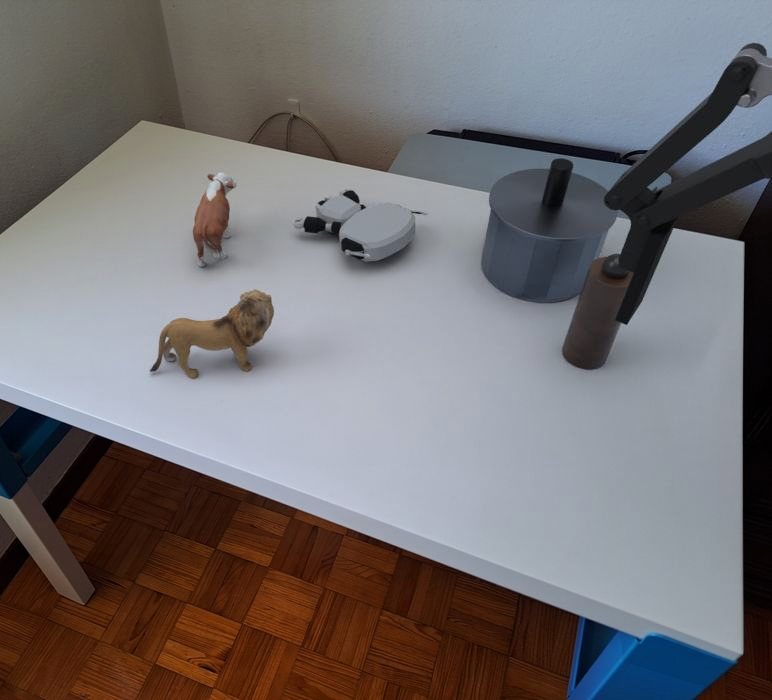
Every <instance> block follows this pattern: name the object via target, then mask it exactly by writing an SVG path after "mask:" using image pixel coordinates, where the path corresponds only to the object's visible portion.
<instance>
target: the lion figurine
mask: <svg viewBox="0 0 772 700" xmlns="http://www.w3.org/2000/svg"><path fill="white" fill-rule="evenodd" d="M239 298H240V300H239V301H238V302H237V304H235V305H233V307H231V308H229V310H228V313H227V314H226V315H224V316H222V317H221V318H216V319H207V320H195V319H191V318H188V317H187V318H186V317H179V318H176V319H173V320H171V321H170V322H169V323H168V324H166V325H165V326H164V327H163V329H162V330H161V332H160V335H159V339H158V351H157V352H158V355H157V358H156V361H155V362H154V364H153V365H152V367H151V368H150V369H149V373H152V372H157V371H158V370H159V369H160V366H161V364H162V361H163V358H164V360H166V361H167V362H173V361H175V360H176V359H177V357H178V362H177V365H178V366H179V367H180V368H181V369H182V371H184V373H185V375H186V376H187V377H188V378H190V379H195V378H197V377H198V376H199V370H198V369H197V368H193V367H190V366H189V364H188V361H189V357H190V354H191V347H192V346H194V347H197V348H200V349H202V350H206V351H212V352H213V351H214V352H218V351H224V350H228V349H231V351H232V353H233V354H234V355H235V358H236V360H237V364H238V366H239V368H240V369H241V370H242V371H245V372H249V371H251V370H252V368H253V365H252V362H250V361H248V360H247V359H248V358H247V357H248V348H251V347H253V346H255V345H256V344H257V343H259V342H260V341H262V340H263V339H264V336H265V334H266V332H267V330H268V329H269V328H270V327H271V325H272V321H273V318H274V316H275V309H274V308H275V307H274V305H273V302H272V296H271V294H267V293H266V292H262V291H260V290H258V289H253V290H250V291H245V292H243V293H241V294H240V295H239ZM167 338H168V339H167ZM166 340H167V341H166ZM172 349H173V350H174V352H171V351H172ZM175 353H176V354H175Z"/></svg>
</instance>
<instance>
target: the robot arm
mask: <svg viewBox="0 0 772 700" xmlns="http://www.w3.org/2000/svg"><path fill="white" fill-rule="evenodd" d="M769 96H772V57H769V56H768V51H767V49H766V47H765V46H764V45H762V44H761V43H760V42H759V43H758V42H750V43H747V44H745V45H744V46H742V47H741V49H740V50H739V51H738V52H737V53H736V54H735V56H734V57H733V58H732V60H731V61H730V62H729V64H728V65H727V66H726V68H725V69H724V70H723V72H722V74H721V76H720V77H719V80H718V81H717V83H716V84H715V87H714V89H713V90H712V92H711V93H710V94H709V95H707V96H706V97H705V98H704V99H703V100H702V101H701V102H700V103H699V104H698V105H697V106H695V108H693V110H691V111H690V112H689V113H688V114H687V115H686V116H685V117H684V118H682V119H681V120H680V121H679V122H678V123H677V124H676V125H675V126H674V127H672V128H671V129H670V130H669V131H668V132H667V133H666V134H664V136H663V137H661V138H660V139H659V140H658V141H657V142H656V143H655V144H654V145H653V146H652V147H651V148H649V150H647V151H646V152H645V153H644V154H642V156H641V157H640V158H639V159H637V160H636V161H635V162H634V163H633V164H632V165H631V166H630V167H629V168H628V169H626V171H624V172H623V173H622V174H621V175H620V176H619V178H617V180H616V181H615V182H614V184H613V185H612V186H611V187H610V188H609V190H607V191H608V192H607V194H606V195H605V197H604V203H605V205H606V206H607V207H608V208H609V209H611V210H618V211H620V212H622V213H623V214H625V215H626V216H627V217H628V219H629V221H630V228H629V230H628V232H627V236H626V238H625V241H624V242H623V246H622V249H621V251H620V253H619V254H620V257H619V259H618V261H619V267H620V268H622V269H625V270H628V271H630V272H633V273H634V274H633V276H632V279H631V281H630V284H629V286H628V289H627V291H626V294H625V296H624V299H623V301H622V304H621V306H620V309H619V311H618V314H617V316H616V319H615V321H618V322H620V323H621V324H623V325H626V326H628V324H629V323H630V321H631V320H632V318H633V316H634V315H635V313H636V312H637V310H638V309H639V307H640V305H641V304H642V303H643V300H644V298H645V296H646V294H647V291H648V289H649V286H650V284H651V281H652V279H653V277H654V274H655V272H656V270H657V268H658V265H659V264H660V260H661V258H662V257H663V253H664V252H665V249H666V247H667V244H668V242H669V239H670V237H671V235H672V233H673V231H674V228H675V225H676V224H677V221H678V218H679V217H681V216H683V215H686V214H688V213H691V212H692V211H695V210H697V209H699V208H702V207H703V206H706V205H708V204H710V203H712V202H715V201H717V200H719V199H721V198H724V197H726V196H728V195H730V194H733V193H734V192H737V191H739V190H742V189H744V188H746V187H749V186H750V185H753V184H756V183H758V182H759V181H762V180H771V179H772V130H771V131H770V132H769V133H768V134H766V135H765V136H763V137H762V138H759V139H757V140H756V141H753V142H751V143H749V144H747V145H745V146H743V147H741V148H739V149H737V150H735V151H733V152H731V153H729V154H726V155H725V156H723V157H721V158H719V159H716V160H715V161H712V162H711V163H709V164H707V165H706V166H703V167H701V168H698V169H697V170H694V171H693V172H691V173H688V174H687V175H684V176H683V177H680V178H679V179H676V180H675V181H673V182H670V183H668V184H667V185H666V184H665V185H664V186H662V187H660V188H659V189H658V186H656V187H654V188H653V189H650V188H649V187H650V186H651V185H652V184H653V183H654V182H655V181H656V180H658V179H659V178H660V177H661V176H662V175H663V174H665V173H666V172H667V171H668V170H669V169H671V167H673V166H674V165H675V164H677V162H679V161H680V160H681V159H683V157H685V156H686V155H687V154H688V153H689V152H690V151H691V150H693V149H694V148H695V147H696V146H697V145H699V144H700V143H701V142H702V141H703V140H704V139H706V138H707V137H708V136H709V135H710V134H711V133H713V132H714V131H715V130H716V129H717V128H718V127H719V126H721V125H722V124H723V123H724V122H725V121H726V119H727V118H728V117H730V115H731V113H733V111H734V110H735V108H736V107H740V108H744V109H750V108H753V107H755V106H758V104H759V103H761V102H762V101H763V100H764V99H765V98H767V97H769Z"/></svg>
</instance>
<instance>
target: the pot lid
mask: <svg viewBox="0 0 772 700" xmlns="http://www.w3.org/2000/svg"><path fill="white" fill-rule="evenodd" d="M573 169H574V163H573V161H571V160H569V159H567V158H560V157H559V158H555V159H553V160H552V161H551V163H550V166H549V168H539V167H537V168H528V169H522V170H517V171H514V172H512V173H509V174H506V175H504V176H503V177H501V178H500V179H498V180H497V181H496V182H495V183H494V184H493V185H492V187H491V188H490V191H489V194H488V206H489V208H490V211H491V210H492V212H493V214H494V215H495V216H496V217H497V219H498V220H499V221H501V222H502V223H503V224H504V225H506V226H507V227H509V228H510V229H512V230H514V231H516V232H518V233H520V234H523V235H525V236H528V237H532V238H535V239H539V240H545V241H551V242H578V241H584V240H588V239H592V238H595V237H597V236H600V235H601V234H603V233H605V232H606V231H608V232H609V230H610V229H611V228H612V227H613V226H614V224H615V223H616V221H617V217H618V213H619V210H611V209H609V208H608V207H607V206H606V205H605V203H604V197H605V195H606V194H607V192H608V191H609V190H607V189H606V188H605V187H604V186H602V185H601V184H600V183H598V182H597V181H595V180H593V179H591V178H588V177H587V176H584V175H581V174H578V173H575V172H573Z"/></svg>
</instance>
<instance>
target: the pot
mask: <svg viewBox="0 0 772 700" xmlns="http://www.w3.org/2000/svg"><path fill="white" fill-rule="evenodd" d="M608 233H609V230H608V231H606V232H605V233H603V234H601V235H600V236H597V237H595V238H592V239H588V240H584V241H578V242H551V241H545V240H539V239H535V238H532V237H528V236H525V235H523V234H520V233H518V232H516V231H514V230H512V229H510V228H509V227H507V226H506V225H504V224H503V223H502V222H501V221H499V220H498V219H497V217H496V216H495V215H494V214H493V212H492V210H491V209H490V211H489V216H488V222H487V228H486V233H485V238H484V243H483V247H482V254H481V259H480V260H481V261H480V264H481V265H480V266H481V270H482V272H483V275H484V276H485V278H486V279H487V280H488V282H489V283H491V285H493V287H494V288H497V289H498V290H499V291H501V292H502V293H504V294H506V295H509V296H511V297H513V298H516V299H519V300H523V301H525V302H530V303H531V302H532V303H540V304H550V303H561V302H564V301H568V300H571V299H574V298H575V297H577V296H580V293H581V291H582V288H583V285H584V282H585V279H586V276H587V273H588V270H589V267H590V264H591V263H592V262H593V261H594V260H595V259H598V258H600V256H601V253H602V250H603V248H604V244H605V242H606V239H607V236H608Z"/></svg>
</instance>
